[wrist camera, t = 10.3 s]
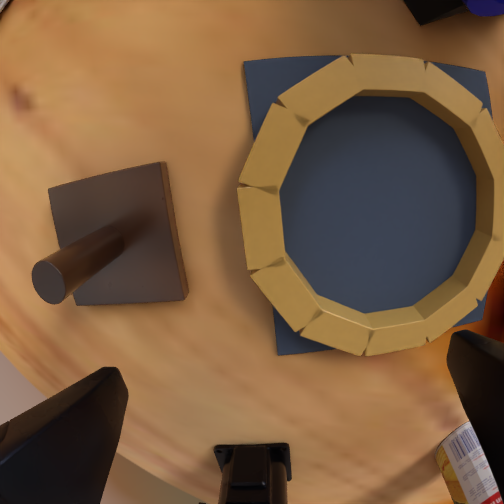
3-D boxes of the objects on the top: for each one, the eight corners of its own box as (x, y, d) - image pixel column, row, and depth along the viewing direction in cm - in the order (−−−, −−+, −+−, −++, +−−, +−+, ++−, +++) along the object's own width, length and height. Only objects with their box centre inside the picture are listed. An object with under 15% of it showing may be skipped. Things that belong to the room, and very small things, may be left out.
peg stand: (189, 292, 19) (151, 365, 12) (84, 298, 20) (23, 356, 13) (166, 161, 17) (103, 167, 10) (57, 186, 17) (-24, 208, 10)
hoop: (482, 314, 19) (496, 326, 17) (261, 350, 20) (260, 369, 18) (486, 78, 14) (503, 74, 12) (225, 71, 15) (220, 61, 13)
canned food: (448, 466, 25) (477, 538, 14) (423, 453, 24) (456, 540, 13) (499, 426, 23) (539, 494, 12) (482, 406, 22) (532, 487, 11)
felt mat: (480, 318, 19) (482, 319, 19) (277, 353, 20) (277, 355, 20) (482, 72, 14) (485, 71, 14) (243, 62, 15) (243, 61, 15)
